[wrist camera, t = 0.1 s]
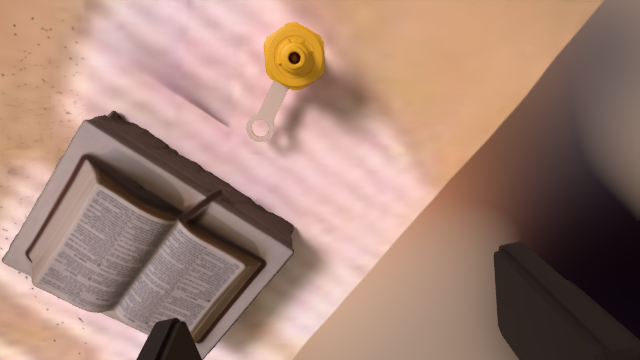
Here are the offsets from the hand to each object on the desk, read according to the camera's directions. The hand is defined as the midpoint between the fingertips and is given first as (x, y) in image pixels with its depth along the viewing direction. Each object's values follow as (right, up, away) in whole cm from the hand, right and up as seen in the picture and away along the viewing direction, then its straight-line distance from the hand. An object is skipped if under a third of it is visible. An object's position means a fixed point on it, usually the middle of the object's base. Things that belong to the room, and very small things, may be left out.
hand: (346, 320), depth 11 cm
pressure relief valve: (-5, +14, +29) cm, 33 cm away
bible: (-19, -2, +34) cm, 39 cm away
